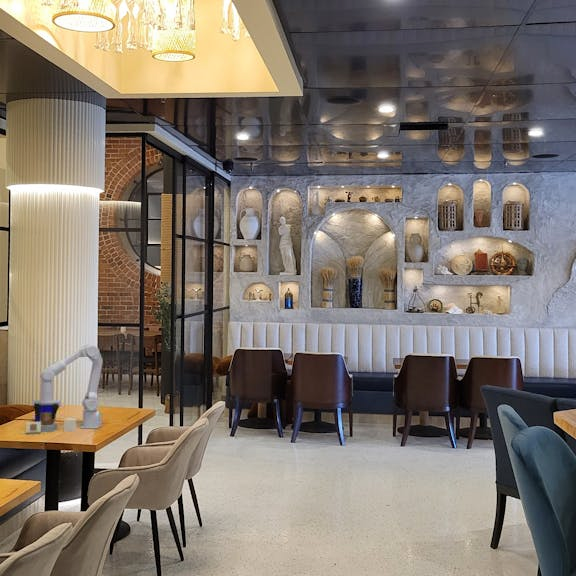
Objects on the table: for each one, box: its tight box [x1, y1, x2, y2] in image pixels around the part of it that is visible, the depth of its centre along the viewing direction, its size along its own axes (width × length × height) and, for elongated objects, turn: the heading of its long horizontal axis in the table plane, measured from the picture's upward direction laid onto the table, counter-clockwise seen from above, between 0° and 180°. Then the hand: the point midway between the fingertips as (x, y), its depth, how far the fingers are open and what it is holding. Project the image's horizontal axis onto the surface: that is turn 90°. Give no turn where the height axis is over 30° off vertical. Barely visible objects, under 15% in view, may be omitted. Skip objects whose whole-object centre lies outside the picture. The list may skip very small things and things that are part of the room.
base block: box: [41, 422, 58, 433], centre depth 386 cm, size 8×8×4 cm
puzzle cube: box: [34, 403, 57, 423], centre depth 412 cm, size 10×10×10 cm
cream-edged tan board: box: [25, 421, 42, 435], centre depth 377 cm, size 7×4×6 cm, turn 107°
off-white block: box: [63, 417, 77, 432], centre depth 387 cm, size 5×5×6 cm
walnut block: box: [40, 412, 53, 426], centre depth 386 cm, size 5×5×6 cm
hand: (46, 418), depth 386 cm, fingers open, 7 cm apart
